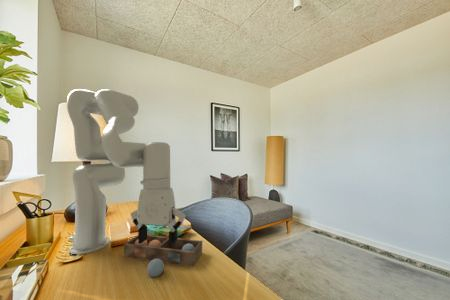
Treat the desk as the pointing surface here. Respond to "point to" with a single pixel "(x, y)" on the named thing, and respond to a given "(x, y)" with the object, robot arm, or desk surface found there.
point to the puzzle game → (165, 230)
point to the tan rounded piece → (141, 243)
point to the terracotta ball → (154, 243)
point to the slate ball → (155, 267)
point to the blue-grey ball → (188, 247)
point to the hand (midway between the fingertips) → (157, 242)
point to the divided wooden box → (164, 250)
